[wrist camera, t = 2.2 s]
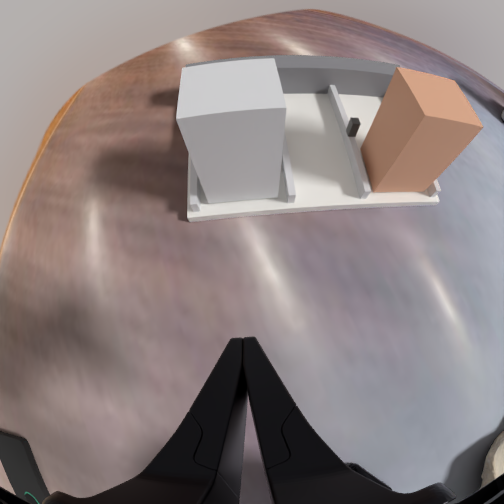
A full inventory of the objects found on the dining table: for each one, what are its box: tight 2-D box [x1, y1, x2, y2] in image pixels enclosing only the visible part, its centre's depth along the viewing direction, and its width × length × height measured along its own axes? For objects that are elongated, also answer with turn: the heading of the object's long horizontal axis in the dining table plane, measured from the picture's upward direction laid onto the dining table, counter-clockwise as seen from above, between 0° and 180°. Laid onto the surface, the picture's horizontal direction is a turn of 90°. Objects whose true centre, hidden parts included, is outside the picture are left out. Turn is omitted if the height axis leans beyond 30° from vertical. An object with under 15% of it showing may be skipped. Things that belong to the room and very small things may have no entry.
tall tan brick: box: [360, 67, 483, 192], centre depth 20 cm, size 5×6×11 cm
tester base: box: [186, 55, 441, 222], centre depth 25 cm, size 17×25×5 cm
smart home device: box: [0, 431, 50, 504], centre depth 16 cm, size 8×2×20 cm
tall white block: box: [176, 58, 286, 204], centre depth 20 cm, size 5×6×11 cm
